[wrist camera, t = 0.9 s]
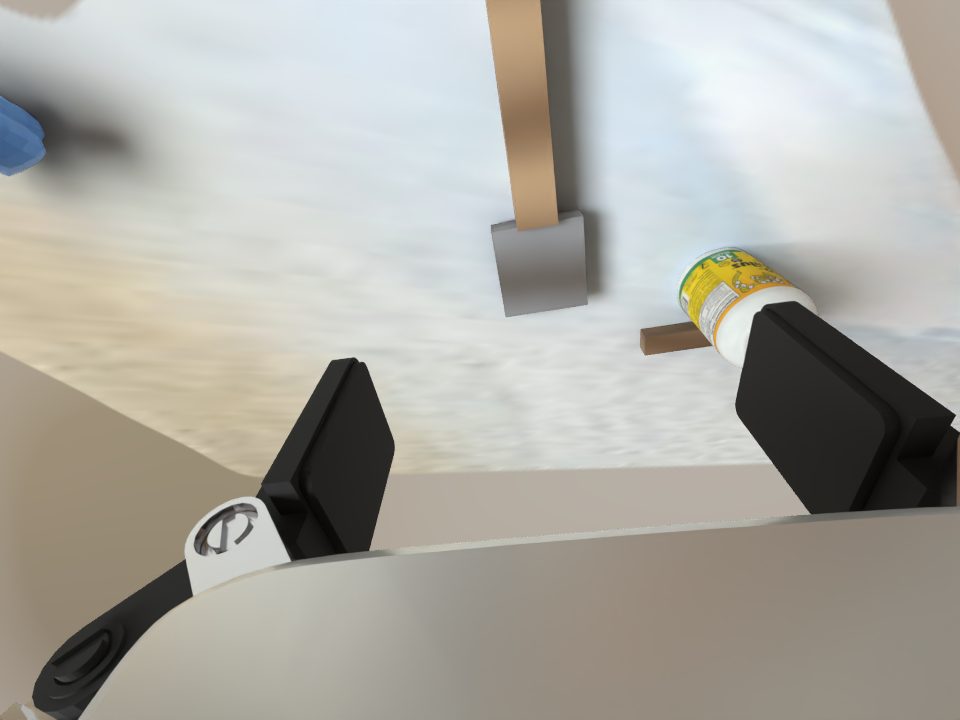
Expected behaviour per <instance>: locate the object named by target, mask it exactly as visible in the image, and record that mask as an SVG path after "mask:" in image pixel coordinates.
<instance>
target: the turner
mask: <svg viewBox="0 0 960 720" xmlns="http://www.w3.org/2000/svg"><path fill="white" fill-rule="evenodd" d="M486 7H487V14H488V22H489V29H490V36H491V44H492V51H493V58H494V66H495V73H496V81H497V88H498V95H499V103H500V110H501V117H502V125H503V132H504V139H505V147H506V154H507V161H508V169H509V176H510V183H511V191H512V198H513V205H514V213H515V219H516V221H511V222H505V223H500V224H494V225H491V233H492V239H493V245H494V251H495V257H496V263H497V269H498V275H499V280H500V286H501V292H502V298H503V304H504V310H505V316H506V317H511V316H518V315H524V314H530V313H537V312H543V311H550V310H556V309H562V308H569V307H575V306H581V305H588V301H587V280H586V259H585V238H584V217H583V214H582V213H581V211H580V210H579V209H577V210H571V211H566V212H560V213H557V201H556V188H555V176H554V164H553V151H552V139H551V127H550V114H549V102H548V89H547V77H546V65H545V52H544V40H543V28H542V15H541V3H540V0H486Z"/></svg>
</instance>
